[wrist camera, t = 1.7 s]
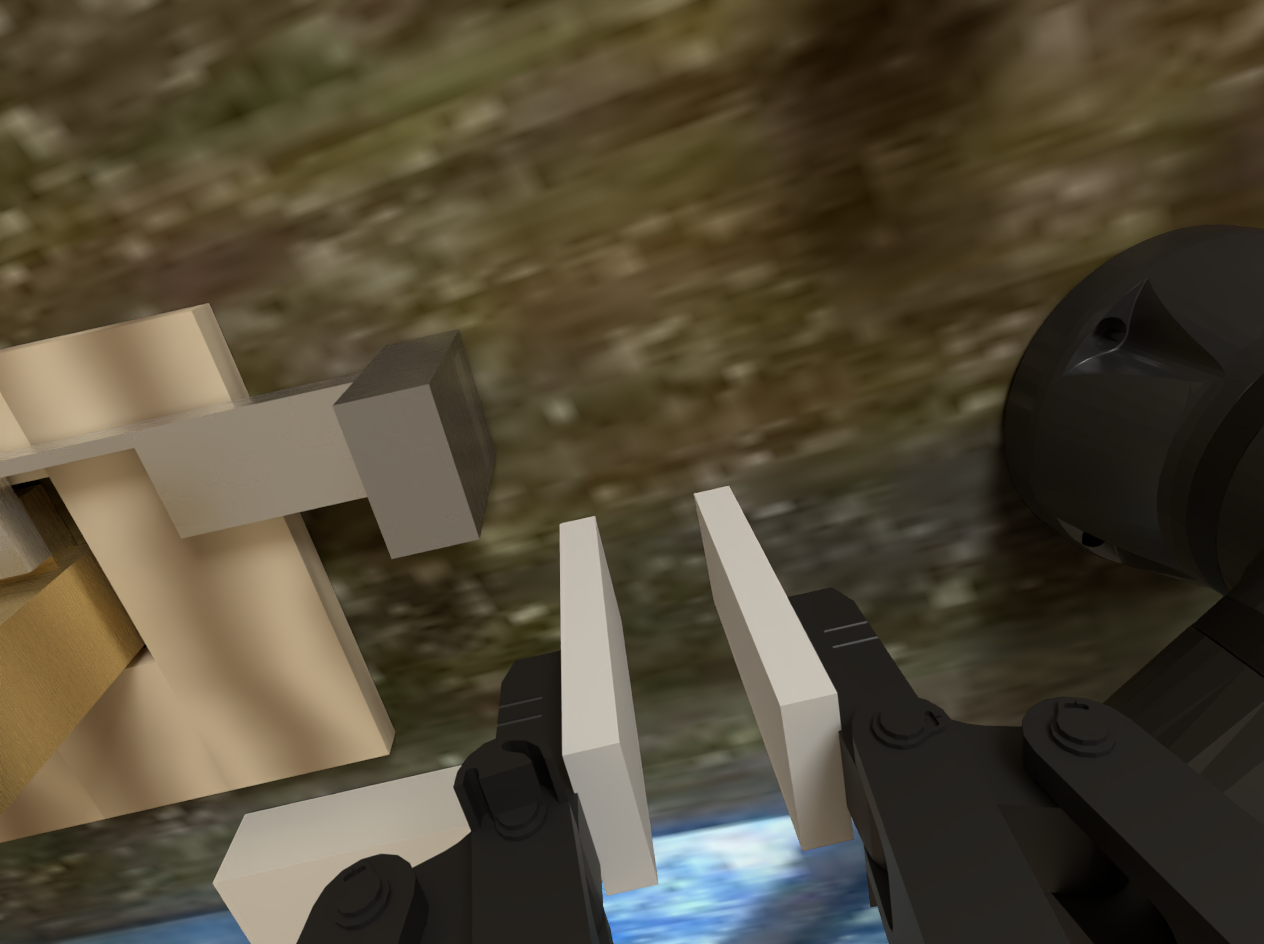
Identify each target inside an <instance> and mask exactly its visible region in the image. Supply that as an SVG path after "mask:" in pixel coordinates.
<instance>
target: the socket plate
mask: <svg viewBox="0 0 1264 944" xmlns="http://www.w3.org/2000/svg"><path fill="white" fill-rule="evenodd" d="M248 397H250V396H249V394H248V392H247V390H246V387H245V385H244V383H243V380H242V378H241V376H240V373H239V371H238V369H237V367H236V364H235V362H234V360H233V357H232V355H231V353H230V350H229V348H228V346H227V343H226V341H225V339H224V337H223V334H222V332H221V330H220V327H219V325H218V323H217V320H216V318H215V316H214V314H213V311H212V309H211V307H210V304H209V303H207V304H203V305H198V306H194V307H189V308H185V309H180V310H176V311H171V312H167V313H162V314H158V315H153V316H149V317H144V318H140V319H135V320H131V321H126V322H122V323H117V324H113V325H109V326H104V327H100V328H95V329H91V330H86V331H82V332H77V333H73V334H68V335H64V336H59V337H55V338H50V339H46V340H41V341H37V342H32V343H28V344H23V345H19V346H14V347H10V348H5V349H1V350H0V453H2V452H6V451H11V450H15V449H20V448H24V447H29V446H33V445H38V444H42V443H47V442H51V441H56V440H60V439H65V438H69V437H74V436H78V435H83V434H87V433H91V432H96V431H100V430H105V429H109V428H114V427H118V426H123V425H127V424H132V423H136V422H141V421H145V420H150V419H154V418H159V417H163V416H168V415H172V414H176V413H181V412H185V411H190V410H194V409H199V408H203V407H208V406H212V405H217V404H221V403H226V402H230V401H235V400H239V399H244V398H248ZM46 477H49V478H50V479H51V481H52V483H53V484H54V486H55V488H56V490H57V491H58V493H59V495H60V497H61V498H62V500H63V502H64V503H65V505H66V507H67V509H68V510H69V512H70V514H71V516H72V517H73V519H74V521H75V523H76V524H77V526H78V528H79V529H80V531H81V533H82V535H83V536H84V538H85V540H86V542H87V543H88V545H89V547H90V549H91V550H92V552H93V554H94V555H95V557H96V559H97V561H98V562H99V564H100V566H101V568H102V569H103V571H104V573H105V575H106V576H107V578H108V580H109V581H110V583H111V585H112V587H113V588H114V590H115V592H116V594H117V595H118V597H119V599H120V600H121V602H122V604H123V606H124V607H125V609H126V611H127V613H128V614H129V616H130V618H131V620H132V621H133V623H134V625H135V626H136V628H137V630H138V632H139V633H140V635H141V637H142V639H143V640H144V642H145V644H146V646H147V647H146V648H141V649H140V650H139V652H138V653H137V654H136V655H135V656H134V658H133V659H132V660H131V661H130V662H129V664H128V665H127V666H126V667H125V668H124V670H123V671H122V672H121V673H120V674H119V676H118V677H117V678H116V679H115V680H114V681H113V683H112V684H111V685H110V686H109V687H108V689H107V690H106V691H105V692H104V693H103V695H102V696H101V697H100V698H99V699H98V701H97V702H96V703H95V704H94V705H93V707H92V708H91V709H90V710H89V711H88V713H87V714H86V715H85V716H84V717H83V718H82V720H81V721H80V722H79V723H78V724H77V726H76V727H75V728H74V729H73V730H72V732H71V733H70V734H69V735H68V736H67V738H66V739H65V740H64V741H63V742H62V744H61V745H60V746H59V747H58V748H57V750H56V751H55V752H54V753H53V754H52V755H51V757H50V758H49V759H48V760H47V761H46V763H45V764H44V765H43V766H42V767H41V769H40V770H39V771H38V772H37V773H36V775H35V776H34V777H33V778H32V779H31V781H30V782H29V783H28V784H27V785H26V787H25V788H24V789H23V790H22V791H21V792H20V794H19V795H18V796H17V797H16V798H15V800H14V801H13V802H12V803H11V804H10V806H9V807H8V808H7V809H6V810H5V812H4V813H3V814H2V815H1V816H0V843H1V842H6V841H10V840H15V839H19V838H23V837H28V836H32V835H37V834H41V833H45V832H50V831H54V830H59V829H63V828H67V827H72V826H76V825H81V824H85V823H89V822H94V821H98V820H103V819H107V818H111V817H116V816H120V815H125V814H129V813H134V812H138V811H142V810H147V809H151V808H156V807H160V806H164V805H169V804H173V803H178V802H182V801H186V800H191V799H195V798H200V797H204V796H208V795H213V794H217V793H222V792H226V791H230V790H235V789H239V788H244V787H248V786H253V785H257V784H261V783H266V782H270V781H275V780H279V779H283V778H288V777H292V776H297V775H301V774H305V773H310V772H314V771H319V770H323V769H327V768H332V767H336V766H341V765H345V764H349V763H354V762H358V761H363V760H367V759H372V758H376V757H380V756H385V755H389V754H390V750H391V746H392V743H393V739H394V736H395V730H394V728H393V726H392V724H391V721H390V719H389V717H388V714H387V712H386V710H385V707H384V705H383V703H382V701H381V698H380V696H379V694H378V691H377V689H376V687H375V684H374V682H373V680H372V677H371V675H370V673H369V671H368V668H367V666H366V664H365V661H364V659H363V657H362V654H361V652H360V650H359V648H358V645H357V643H356V641H355V638H354V636H353V634H352V631H351V629H350V627H349V625H348V622H347V620H346V618H345V615H344V613H343V611H342V608H341V606H340V604H339V601H338V599H337V597H336V595H335V592H334V590H333V588H332V585H331V583H330V581H329V578H328V576H327V574H326V572H325V569H324V567H323V565H322V562H321V560H320V558H319V555H318V553H317V551H316V548H315V546H314V544H313V542H312V539H311V537H310V535H309V532H308V530H307V528H306V525H305V523H304V521H303V519H302V516H301V514H300V512H298V513H293V514H289V515H284V516H280V517H276V518H271V519H267V520H262V521H258V522H253V523H249V524H244V525H240V526H235V527H231V528H227V529H222V530H218V531H213V532H209V533H204V534H200V535H195V536H191V537H186V538H182V539H181V537H180V535H179V533H178V531H177V529H176V528H175V526H174V524H173V522H172V520H171V518H170V516H169V514H168V512H167V510H166V508H165V506H164V504H163V502H162V500H161V498H160V497H159V495H158V493H157V491H156V489H155V487H154V485H153V483H152V481H151V479H150V477H149V475H148V473H147V471H146V469H145V467H144V466H143V464H142V462H141V460H140V458H139V456H138V454H137V452H136V450H135V448H131V449H127V450H122V451H118V452H113V453H109V454H104V455H100V456H96V457H91V458H87V459H82V460H78V461H73V462H69V463H64V464H60V465H55V466H51V467H46V468H42V469H37V470H33V471H28V472H24V473H20V474H15V475H11V476H6V479H7V481H8V482H9V484H10V485H15V484H19V483H24V482H28V481H33V480H37V479H42V478H46Z"/></svg>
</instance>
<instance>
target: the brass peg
mask: <svg viewBox="0 0 1264 944" xmlns="http://www.w3.org/2000/svg"><path fill="white" fill-rule="evenodd" d="M14 492H15V494H16V495H17V497H18V499H19V500H20V502H21V504H22V505H23V507H24V509H25V510H26V512H27V514H28V515H29V517H30V519H31V520H32V522H33V524H34V525H35V527H36V529H37V530H38V532H39V534H40V535H41V537H42V538H43V540H44V542H45V543H46V545H47V547H48V548H49V550H50V552H51V553H52V556H50V557H49V558H48V559H47V560H45V561H44V562H43V563H42V564H40V565H39V566H38V567H36V568H35V569H34V570H33V571H31V572H30V573H26V574H22V575H17V576H13V577H8V578H4V579H0V816H1V815H2V814H3V813H4V812H5V810H6V809H7V808H8V807H9V806H10V804H11V803H12V802H13V801H14V800H15V798H16V797H17V796H18V795H19V794H20V792H21V791H22V790H23V789H24V788H25V787H26V785H27V784H28V783H29V782H30V781H31V779H32V778H33V777H34V776H35V775H36V773H37V772H38V771H39V770H40V769H41V767H42V766H43V765H44V764H45V763H46V761H47V760H48V759H49V758H50V757H51V755H52V754H53V753H54V752H55V751H56V750H57V748H58V747H59V746H60V745H61V744H62V742H63V741H64V740H65V739H66V738H67V736H68V735H69V734H70V733H71V732H72V730H73V729H74V728H75V727H76V726H77V724H78V723H79V722H80V721H81V720H82V718H83V717H84V716H85V715H86V714H87V713H88V711H89V710H90V709H91V708H92V707H93V705H94V704H95V703H96V702H97V701H98V699H99V698H100V697H101V696H102V695H103V693H104V692H105V691H106V690H107V689H108V687H109V686H110V685H111V684H112V683H113V681H114V680H115V679H116V678H117V677H118V676H119V674H120V673H121V672H122V671H123V670H124V668H125V667H126V666H127V665H128V664H129V662H130V661H131V660H132V659H133V658H134V656H135V655H136V654H137V653H138V652H139V650H140V649H141V648H142V647H143V646H144V644H145V642H144V640H143V639H142V637H141V635H140V633H139V632H138V630H137V628H136V626H135V625H134V623H133V621H132V620H131V618H130V616H129V614H128V613H127V611H126V609H125V607H124V606H123V604H122V602H121V600H120V599H119V597H118V595H117V594H116V592H115V590H114V588H113V587H112V585H111V583H110V581H109V580H108V578H107V576H106V575H105V573H104V571H103V569H102V568H101V566H100V564H99V562H98V561H97V559H96V557H95V555H94V554H93V552H92V550H91V549H90V547H89V545H88V543H86V544H82V545H77V544H76V542H75V540H74V539H73V537H72V535H71V533H70V532H69V530H68V528H67V527H66V525H65V523H64V522H63V520H62V518H61V516H60V515H59V513H58V511H57V510H56V508H55V506H54V504H53V503H52V501H51V499H50V498H49V496H48V494H47V492H46V491H45V489H44V487H43V486H42V484H38V485H34V486H29V487H25V488H20V489H16V490H14Z"/></svg>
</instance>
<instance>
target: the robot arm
mask: <svg viewBox="0 0 1264 944" xmlns="http://www.w3.org/2000/svg"><path fill="white" fill-rule="evenodd" d="M1004 446H1005V454H1006V460H1007V465H1008V468H1009V472H1010V475H1011V478H1012V480H1013V483H1014V485H1015V487H1016V489H1017V491H1018V493H1019V495H1020V496H1021V498H1022V499H1023V501H1024V502H1025V503H1026V505H1027V506H1028V507H1029V508H1030V510H1031V511H1032V512H1033V513H1034V514H1035V515H1036V516H1037V517H1039V518H1040V519H1041V520H1042V521H1043V522H1045V523H1046V524H1047V525H1049V526H1050V527H1051V528H1053V529H1054V530H1055V531H1057V532H1058V533H1059V534H1061V535H1062V536H1063V537H1065V538H1066V539H1067V540H1069V541H1070V542H1072V543H1073V544H1075V545H1076V546H1078V547H1080V548H1082V549H1083V550H1085V551H1088V552H1090V553H1092V554H1094V555H1096V556H1099V557H1102V558H1105V559H1108V560H1111V561H1114V562H1118V563H1122V564H1126V565H1129V566H1132V567H1136V568H1140V569H1143V570H1147V571H1151V572H1154V573H1158V574H1161V575H1165V576H1169V577H1172V578H1176V579H1180V580H1183V581H1187V582H1191V583H1194V584H1198V585H1202V586H1205V587H1209V588H1212V589H1214V590H1216V591H1217V592H1219V593H1220V594H1222V595H1223V596H1224V597H1223V598H1222V599H1220V600H1219V601H1218V602H1217V603H1216V604H1215V605H1214V606H1213V607H1212V608H1210V609H1209V610H1208V611H1207V612H1206V613H1205V614H1204V615H1203V616H1202V617H1201V618H1199V619H1198V620H1197V621H1196V622H1195V623H1194V624H1192V625H1191V626H1189V627H1188V628H1187V629H1186V630H1185V631H1184V632H1183V633H1181V634H1180V635H1179V636H1178V637H1177V638H1176V639H1175V640H1174V641H1172V642H1171V643H1170V644H1169V645H1168V646H1167V647H1166V648H1165V649H1163V650H1162V651H1161V652H1160V653H1159V654H1158V655H1157V656H1156V657H1154V658H1153V659H1152V660H1151V661H1150V662H1149V663H1148V664H1147V665H1145V666H1144V667H1143V668H1142V669H1141V670H1140V671H1139V672H1137V673H1136V674H1135V675H1134V676H1133V677H1132V678H1131V679H1130V680H1128V681H1127V682H1126V683H1125V684H1124V685H1123V686H1122V687H1121V688H1119V689H1118V690H1117V691H1116V692H1115V693H1114V694H1113V695H1112V696H1110V697H1109V698H1108V699H1107V700H1106V701H1105V702H1104V703H1103V704H1101V703H1098V702H1095V701H1092V700H1089V699H1085V698H1073V697H1058V698H1053V699H1047V700H1043V701H1041V702H1039V703H1038V704H1036V705H1034V706H1033V707H1031V708H1029V710H1028V711H1027V713H1026V715H1025V717H1024V718H1023V720H1022V727H1011V726H982V725H973V724H966V723H962V722H958V721H955V720H951V719H950V718H949V716H948V715H947V714H946V713H945V712H944V710H943V709H941V708H939V707H938V706H936V705H934V704H933V703H931V702H929V701H927V700H925V699H921V698H919V697H918V696H917V695H916V693H915V692H914V690H913V689H912V687H911V686H910V684H909V683H908V681H907V680H906V678H905V677H904V675H903V674H902V672H901V671H900V669H899V668H898V666H897V665H896V663H895V662H894V660H893V659H892V657H891V656H890V654H889V653H888V651H887V650H886V648H885V647H884V645H883V644H882V642H881V641H880V640H879V639H877V636H876V634H875V632H874V631H873V629H872V628H871V626H870V625H869V623H867V621H866V619H865V617H864V616H863V614H862V613H861V611H860V610H859V608H858V607H857V605H856V604H855V602H854V601H853V600H851V599H850V598H848V597H847V596H845V595H843V594H842V593H840V592H838V591H837V590H835V589H833V588H832V587H831V588H826V589H822V590H818V591H813V592H809V593H804V594H800V595H795V596H791V597H787V596H786V594H785V592H784V590H783V588H782V586H781V584H780V583H779V581H778V579H777V577H776V575H775V573H774V571H773V569H772V567H771V565H770V563H769V562H768V560H767V558H766V556H765V554H764V552H763V550H762V548H761V546H760V544H759V542H758V540H757V539H756V537H755V535H754V533H753V531H752V529H751V527H750V525H749V523H748V521H747V519H746V517H745V516H744V514H743V512H742V510H741V508H740V506H739V504H738V502H737V500H736V498H735V496H734V495H733V493H732V491H731V489H730V487H729V486H726V487H722V488H717V489H713V490H708V491H704V492H699V493H695V494H694V497H695V503H696V508H697V513H698V519H699V524H700V529H701V535H702V540H703V545H704V551H705V556H706V561H707V567H708V572H709V578H710V583H711V588H712V594H713V599H714V603H715V605H716V608H717V611H718V614H719V617H720V619H721V622H722V625H723V628H724V631H725V634H726V636H727V639H728V642H729V645H730V648H731V651H732V653H733V656H734V659H735V662H736V665H737V667H738V670H739V673H740V676H741V679H742V682H743V684H744V687H745V690H746V693H747V696H748V698H749V701H750V704H751V707H752V710H753V713H754V715H755V718H756V721H757V724H758V727H759V730H760V732H761V735H762V738H763V741H764V744H765V746H766V749H767V752H768V755H769V758H770V761H771V763H772V766H773V769H774V772H775V775H776V778H777V780H778V783H779V786H780V789H781V792H782V794H783V797H784V800H785V803H786V806H787V809H788V811H789V814H790V817H791V820H792V823H793V826H794V828H795V831H796V834H797V837H798V840H799V842H800V845H801V848H802V851H805V850H810V849H814V848H819V847H823V846H827V845H832V844H836V843H840V842H845V841H849V840H854V837H853V828H852V819H853V821H854V824H855V826H856V828H857V830H858V833H859V835H860V837H861V839H862V841H863V844H864V850H865V860H866V869H867V879H868V888H869V898H870V907H875V906H878V909H879V913H880V916H881V919H882V922H883V926H884V929H885V932H886V936H887V939H888V942H889V944H1264V229H1261V228H1252V227H1242V226H1233V225H1202V226H1193V227H1188V228H1182V229H1178V230H1174V231H1171V232H1167V233H1164V234H1161V235H1158V236H1155V237H1153V238H1150V239H1148V240H1146V241H1143V242H1141V243H1139V244H1137V245H1135V246H1133V247H1131V248H1129V249H1127V250H1125V251H1124V252H1122V253H1120V254H1118V255H1117V256H1115V257H1113V258H1112V259H1110V260H1109V261H1107V262H1106V263H1104V264H1103V265H1102V266H1100V267H1099V268H1098V269H1096V270H1095V271H1094V272H1092V273H1091V274H1090V275H1089V276H1087V277H1086V278H1085V279H1084V280H1083V281H1082V282H1080V283H1079V284H1078V285H1077V286H1076V287H1075V288H1074V289H1073V290H1072V291H1071V292H1070V293H1069V294H1068V295H1067V296H1066V297H1065V298H1064V299H1063V300H1062V301H1061V302H1060V303H1059V305H1058V306H1057V307H1056V308H1055V309H1054V311H1053V312H1052V313H1051V314H1050V316H1049V317H1048V318H1047V320H1046V321H1045V322H1044V324H1043V325H1042V326H1041V328H1040V329H1039V331H1038V332H1037V334H1036V336H1035V337H1034V339H1033V340H1032V342H1031V344H1030V346H1029V347H1028V349H1027V351H1026V353H1025V355H1024V357H1023V359H1022V361H1021V363H1020V366H1019V368H1018V371H1017V373H1016V375H1015V378H1014V381H1013V384H1012V387H1011V391H1010V395H1009V398H1008V403H1007V408H1006V415H1005V424H1004ZM560 594H561V651H557V652H553V653H548V654H544V655H539V656H535V657H530V658H526V659H522V660H517V661H515V662H514V664H513V665H512V667H511V668H510V670H509V672H508V673H507V675H506V677H505V678H504V680H503V681H502V684H501V694H500V704H499V705H500V709H499V714H498V727H497V733H496V739H494V740H492V741H489V742H487V743H485V744H483V745H482V746H481V747H479V748H478V749H477V750H476V751H474V752H473V753H472V754H470V755H469V756H468V757H467V759H466V760H465V761H464V763H463V764H462V766H461V767H460V768H459V770H458V771H457V774H456V778H455V782H454V786H453V788H454V791H455V793H456V796H457V798H458V800H459V803H460V805H461V808H462V810H463V813H464V815H465V818H466V820H467V822H468V825H469V827H470V830H471V832H470V833H468V834H467V835H466V836H465V837H464V838H463V839H462V840H461V841H459V842H458V843H456V844H455V845H453V846H452V847H450V848H449V849H447V850H445V851H444V852H442V853H440V854H438V855H436V856H434V857H432V858H430V859H428V860H426V861H424V862H423V863H421V864H419V865H417V866H415V867H413V868H412V866H411V864H410V863H409V862H408V861H406V860H405V859H403V858H402V857H400V856H399V855H392V854H378V855H374V856H371V857H367V858H364V859H361V860H359V861H357V862H356V863H354V864H352V865H351V866H349V867H347V868H346V869H344V870H342V871H341V872H340V873H339V874H338V875H337V876H336V877H335V878H334V879H333V880H332V881H331V882H330V883H329V884H328V885H327V886H326V887H325V888H324V889H323V891H322V893H321V894H320V896H319V897H318V899H317V901H316V902H315V904H314V905H313V907H312V909H311V912H310V914H309V916H308V918H307V921H306V923H305V925H304V927H303V930H302V932H301V934H300V936H299V939H298V941H297V943H296V944H613V940H612V935H611V929H610V926H609V923H608V920H607V917H606V914H605V911H604V908H603V897H602V882H603V885H604V888H605V891H606V894H607V896H609V895H613V894H617V893H622V892H626V891H630V890H635V889H639V888H644V887H648V886H652V885H657V884H658V878H657V871H656V863H655V856H654V849H653V842H652V835H651V828H650V821H649V814H648V807H647V800H646V792H645V785H644V778H643V771H642V764H641V757H640V750H639V743H638V736H637V729H636V721H635V714H634V707H633V700H632V693H631V686H630V679H629V672H628V665H627V658H626V650H625V643H624V636H623V629H622V622H621V618H620V614H619V610H618V606H617V602H616V598H615V594H614V590H613V586H612V582H611V578H610V574H609V570H608V566H607V562H606V558H605V554H604V550H603V546H602V542H601V538H600V534H599V530H598V526H597V522H596V518H595V516H593V517H588V518H584V519H579V520H575V521H571V522H566V523H562V524H560ZM851 817H852V819H851ZM601 878H602V881H601Z"/></svg>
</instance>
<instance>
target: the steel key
mask: <svg viewBox="0 0 1264 944" xmlns="http://www.w3.org/2000/svg"><path fill="white" fill-rule="evenodd" d="M131 448H135V450H136V452H137V454H138V456H139V458H140V460H141V462H142V464H143V466H144V467H145V469H146V471H147V473H148V475H149V477H150V479H151V481H152V483H153V485H154V487H155V489H156V491H157V493H158V495H159V497H160V498H161V500H162V502H163V504H164V506H165V508H166V510H167V512H168V514H169V516H170V518H171V520H172V522H173V524H174V526H175V528H176V529H177V531H178V533H179V535H180V537H181V539H182V538H186V537H191V536H195V535H200V534H204V533H209V532H213V531H218V530H222V529H227V528H231V527H235V526H240V525H244V524H249V523H253V522H258V521H262V520H267V519H271V518H276V517H280V516H284V515H289V514H293V513H298V512H302V511H307V510H311V509H316V508H320V507H325V506H329V505H333V504H338V503H342V502H347V501H351V500H356V499H360V498H365V497H368V499H369V502H370V504H371V507H372V510H373V512H374V515H375V517H376V520H377V522H378V525H379V528H380V530H381V533H382V535H383V538H384V540H385V543H386V546H387V548H388V551H389V553H390V556H391V559H394V558H399V557H403V556H407V555H412V554H416V553H421V552H425V551H430V550H434V549H439V548H443V547H447V546H452V545H456V544H461V543H465V542H470V541H474V540H478V539H480V535H481V530H482V524H483V519H484V514H485V509H486V504H487V499H488V494H489V489H490V484H491V479H492V474H493V469H494V464H495V459H496V451H495V448H494V444H493V441H492V438H491V434H490V431H489V428H488V424H487V421H486V418H485V414H484V411H483V408H482V404H481V401H480V398H479V395H478V391H477V388H476V385H475V381H474V378H473V375H472V371H471V368H470V365H469V361H468V358H467V355H466V351H465V348H464V345H463V341H462V338H461V335H460V331H459V330H454V331H450V332H445V333H441V334H436V335H432V336H427V337H423V338H418V339H414V340H409V341H405V342H400V343H396V344H391V345H387V346H385V347H384V348H383V349H382V350H381V351H380V352H379V354H378V355H377V356H376V357H375V358H374V359H373V360H372V361H371V363H370V364H369V365H368V366H367V367H366V368H365V369H364V371H363V372H360V373H355V374H351V375H346V376H342V377H338V378H333V379H329V380H324V381H320V382H315V383H311V384H306V385H302V386H297V387H293V388H288V389H284V390H279V391H275V392H270V393H266V394H261V395H257V396H253V397H248V398H244V399H239V400H235V401H230V402H226V403H221V404H217V405H212V406H208V407H203V408H199V409H194V410H190V411H185V412H181V413H176V414H172V415H168V416H163V417H159V418H154V419H150V420H145V421H141V422H136V423H132V424H127V425H123V426H118V427H114V428H109V429H105V430H100V431H96V432H91V433H87V434H83V435H78V436H74V437H69V438H65V439H60V440H56V441H51V442H47V443H42V444H38V445H33V446H29V447H24V448H20V449H15V450H11V451H6V452H2V453H0V579H4V578H8V577H13V576H17V575H22V574H26V573H30V572H31V571H33V570H34V569H35V568H36V567H38V566H39V565H40V564H42V563H43V562H44V561H45V560H47V559H48V558H49V557H50V556H52V553H51V552H50V550H49V548H48V547H47V545H46V543H45V542H44V540H43V538H42V537H41V535H40V534H39V532H38V530H37V529H36V527H35V525H34V524H33V522H32V520H31V519H30V517H29V515H28V514H27V512H26V510H25V509H24V507H23V505H22V504H21V502H20V500H19V499H18V497H17V495H16V494H15V492H14V490H13V489H12V487H11V486H10V484H9V482H8V481H7V479H6V476H11V475H15V474H20V473H24V472H28V471H33V470H37V469H42V468H46V467H51V466H55V465H60V464H64V463H69V462H73V461H78V460H82V459H87V458H91V457H96V456H100V455H104V454H109V453H113V452H118V451H122V450H127V449H131Z"/></svg>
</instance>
